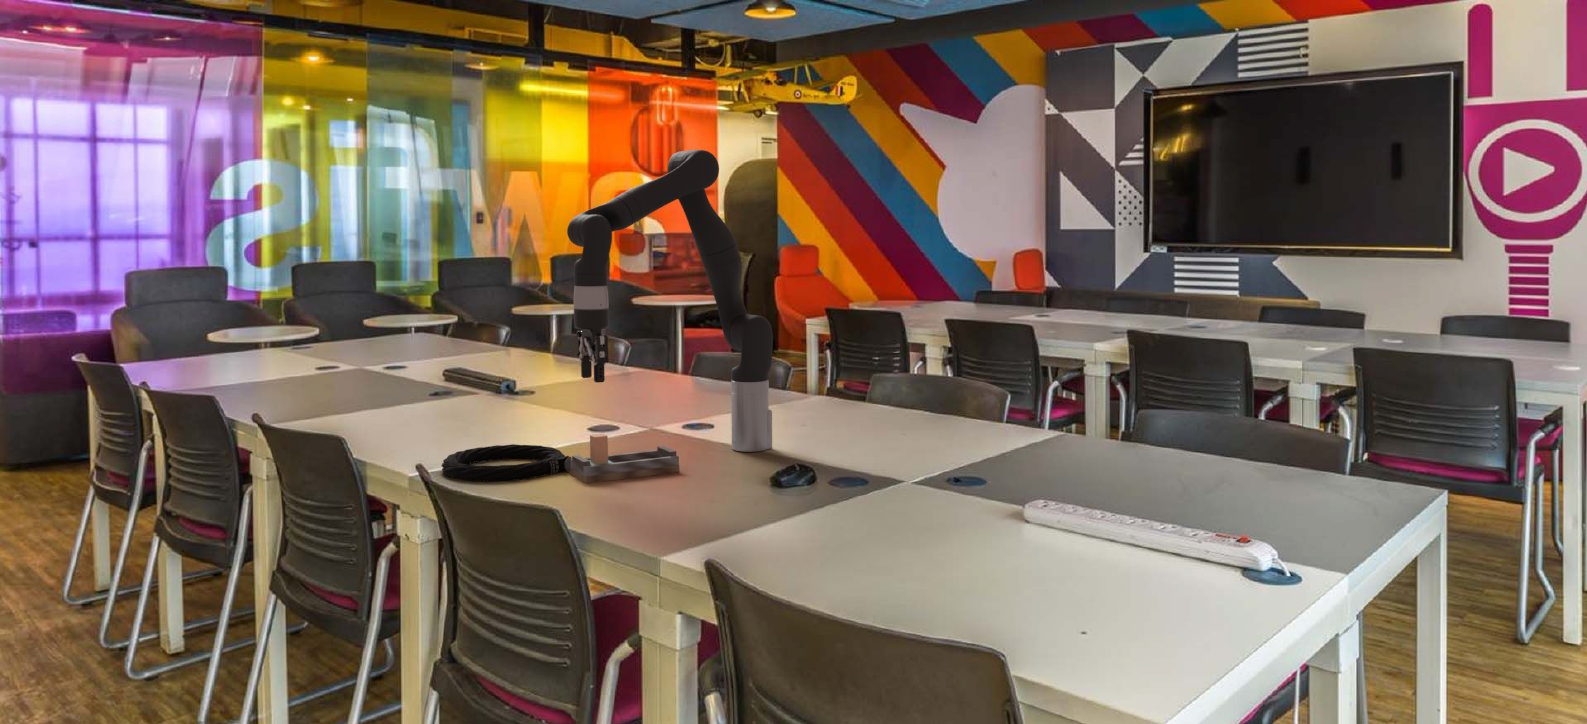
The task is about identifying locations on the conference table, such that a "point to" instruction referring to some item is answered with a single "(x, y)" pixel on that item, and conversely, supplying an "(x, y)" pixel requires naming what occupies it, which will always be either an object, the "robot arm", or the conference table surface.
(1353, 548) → the conference table surface
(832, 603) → the conference table surface
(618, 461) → the board
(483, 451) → the cable lock
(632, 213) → the robot arm
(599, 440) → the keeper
